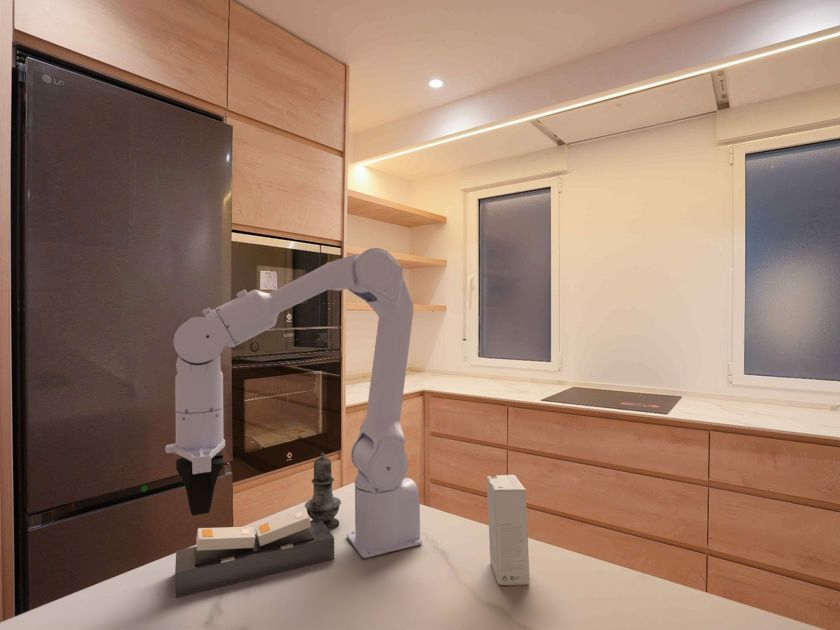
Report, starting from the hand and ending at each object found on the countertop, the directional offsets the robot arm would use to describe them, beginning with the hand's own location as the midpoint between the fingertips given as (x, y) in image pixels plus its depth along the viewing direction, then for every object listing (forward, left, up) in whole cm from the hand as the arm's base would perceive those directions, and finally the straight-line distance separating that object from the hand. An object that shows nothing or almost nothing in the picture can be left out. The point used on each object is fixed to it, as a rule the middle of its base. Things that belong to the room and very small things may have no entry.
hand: (200, 512), depth 62 cm
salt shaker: (-19, -8, -9) cm, 22 cm away
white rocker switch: (-3, 0, -4) cm, 5 cm away
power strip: (-7, 0, -9) cm, 11 cm away
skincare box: (-37, +18, -9) cm, 42 cm away
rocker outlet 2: (-11, 0, -4) cm, 11 cm away
